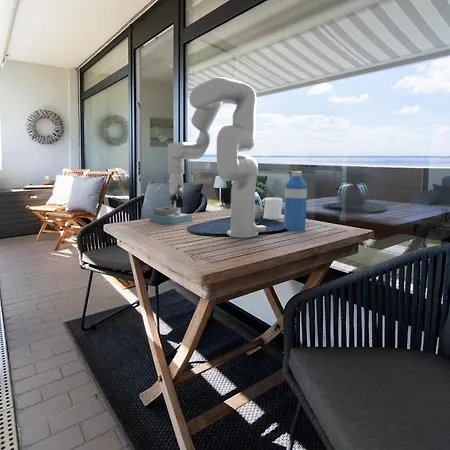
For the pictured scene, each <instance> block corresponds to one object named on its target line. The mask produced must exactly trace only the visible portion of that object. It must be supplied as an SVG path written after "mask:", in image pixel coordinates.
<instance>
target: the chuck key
mask: <svg viewBox="0 0 450 450" xmlns="http://www.w3.org/2000/svg"><path fill="white" fill-rule="evenodd" d="M185 198H186V197H185V195H183V201H185V200H186V199H185ZM168 199H169V201H171V202H172V201H173V200H174V205H173V208H174V215H181V214H180V213H181V208H176V199H177V198H176V196H172V195H170V196H169V197H168Z"/></svg>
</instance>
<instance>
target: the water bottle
mask: <svg viewBox="0 0 450 450" xmlns="http://www.w3.org/2000/svg"><path fill="white" fill-rule="evenodd" d="M302 175H303V172H302V171H298V170H297V171H296V170H295V171H294V170H293V171H291V176H290V178H288V180H287V181H286V183H285V184H284V185H285V188H284V190H285V191H284V192H285V193H284V210H283V211H284V214H283V215H284V217H283V228H284V227H285V228H286V229H287V230H286V231H291V232H301V231H305V230H306V220H307V219H306V216H307V201H308V200H307V198H308V197H307V196H308V184H307V181H305V179H304V178H303V176H302Z"/></svg>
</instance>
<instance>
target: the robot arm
mask: <svg viewBox="0 0 450 450" xmlns="http://www.w3.org/2000/svg"><path fill="white" fill-rule="evenodd" d="M223 103H224V104H231V105H236V106H235V107H234V110H233V113H232V124H226V125H224V126H222V127H221V128H220V129H219V131H218V133H217V137H216V170H217V174H218V176H219V178H220V179H221V180H223V181H225V182H232V186H231V191H230V229H229V230H227V231H226V235H227V234H228V235H229V237H232V238H240V239H247V238H250V239H251V238H254V237H257V236H258V235H259V232H266V230H267V226H265V225H257V224H256V222H255V213H256V211H255V210H256V184H257V183H256V182H257V177H258V172H259V166H258V162H257V160H256V159H255V157H253V156H250V155H247V154H246V155H245V154H239V153H238V152H249V151H251V150H252V149H253V148H254V147H255V146H254V145H255V142H256V141H255V139H256V138H255V137H256V108H257V94H256V91H255V90H254V88H253V87H252V86H251V85H249V84H247V83H246V82H243V81H240V80H235V79H230V78H227V77H222V76H219V77H214V78H211V79H208V80H207V81H205V82H202V83H200V84H198V85H196V86H195V87H194V88H192V90H191V92H190V94H189V104H190V106H191V107H192V108H194V109H195V111H194V112H193V115H192V117H191V121H190V122H191V125H193V126H194V128H196V130H198V131H199V135H198V137H197V139H196V141H195V142H189V141H180V142H169V143H168V145H167V172H168V174H169V185H168V187H169V190H168V191H169V193H170V194H171V196H176V198H177V199H176V208H180V209H181V208H183V207H184V200H183V196H184V195H183V194H184V177H183V175H184V174H185V160H198V159H201V158H202V157H203V156H204V155H205V153H206V151H207V150H208V148H209V146H210V141H211V133H210V128H211V126H212V124H213V122H214V119H216V116H217V115H218V112H219V110H220V109H221V107H222V105H223ZM171 205H172V206H174V200H173V201H171ZM228 235H227V236H228Z"/></svg>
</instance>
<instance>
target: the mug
mask: <svg viewBox="0 0 450 450" xmlns="http://www.w3.org/2000/svg"><path fill="white" fill-rule="evenodd" d="M262 202H263V203H264V211H265V213H264V219H265V220H268V219H269V220H270V221H278V220H281V219H282V208H283V198H281V197H265V198H263V199H261V203H262ZM264 211H263V212H264Z"/></svg>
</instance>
